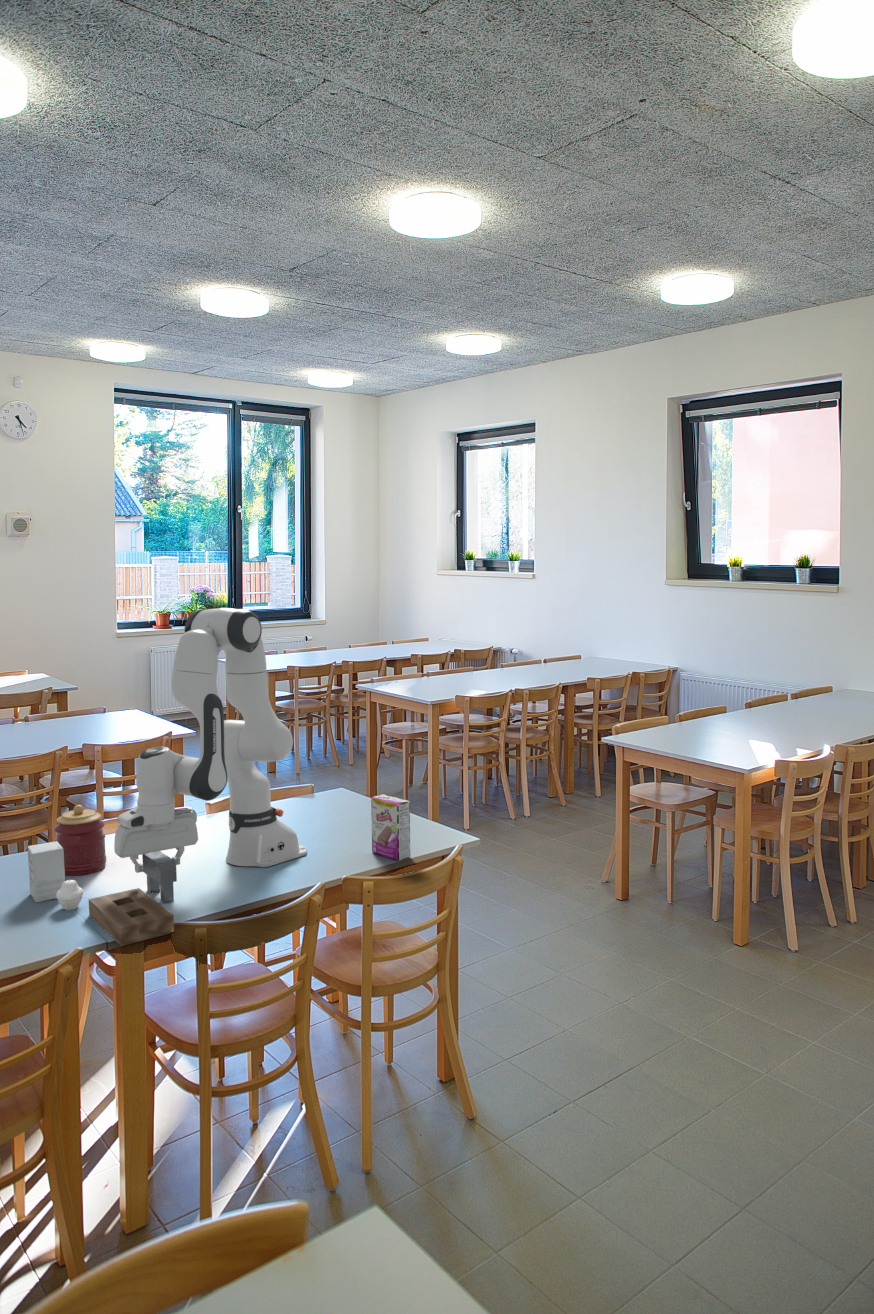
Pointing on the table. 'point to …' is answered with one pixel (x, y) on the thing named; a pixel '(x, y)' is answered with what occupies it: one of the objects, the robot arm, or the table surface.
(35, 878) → the supplement box
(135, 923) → the wooden socket board
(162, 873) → the grey u-shaped block
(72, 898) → the muffin
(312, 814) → the table surface
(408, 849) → the candy bar box
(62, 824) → the canister
